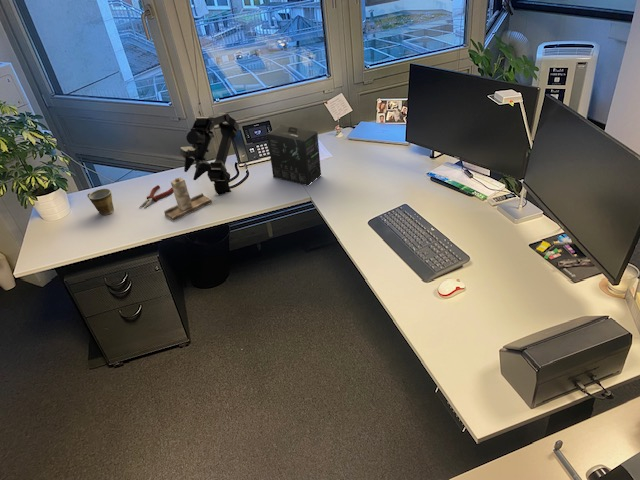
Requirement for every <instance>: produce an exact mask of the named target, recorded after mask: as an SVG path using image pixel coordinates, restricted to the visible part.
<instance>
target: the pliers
mask: <svg viewBox="0 0 640 480" xmlns="http://www.w3.org/2000/svg"><path fill="white" fill-rule="evenodd" d="M160 189H161V187H160V185H156V186H155V187H153V188H152V189H151V190H150V194H149V195H148V196H146V200H145V201H144V202H143V203H142V204H141V205H140V206H139V209H141V208H143V209H146V208H147V207H148V206H150V205H152V204H153V202H155V203H157V202H158V201H159V200H161V199H164V198H166V197H168V196H170V195H172V194H174V191H173V188H172V187H170V188H169V189H168V190H166V191H165V192H161V193H160V194H157V195H155V193H156V192H157V191H158V190H160Z"/></svg>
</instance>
